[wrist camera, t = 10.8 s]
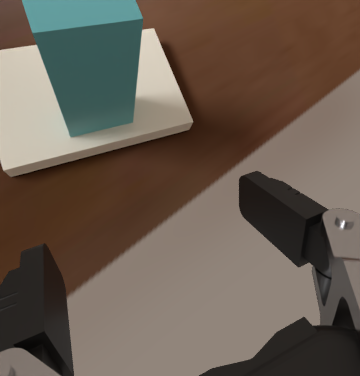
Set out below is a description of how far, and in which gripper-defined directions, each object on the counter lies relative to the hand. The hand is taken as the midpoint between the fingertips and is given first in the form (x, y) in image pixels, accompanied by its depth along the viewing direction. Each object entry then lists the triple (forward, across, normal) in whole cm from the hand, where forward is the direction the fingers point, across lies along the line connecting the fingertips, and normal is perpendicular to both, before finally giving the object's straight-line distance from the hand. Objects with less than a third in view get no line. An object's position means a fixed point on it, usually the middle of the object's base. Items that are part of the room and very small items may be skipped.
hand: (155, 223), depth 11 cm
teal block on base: (+12, 0, -3) cm, 12 cm away
